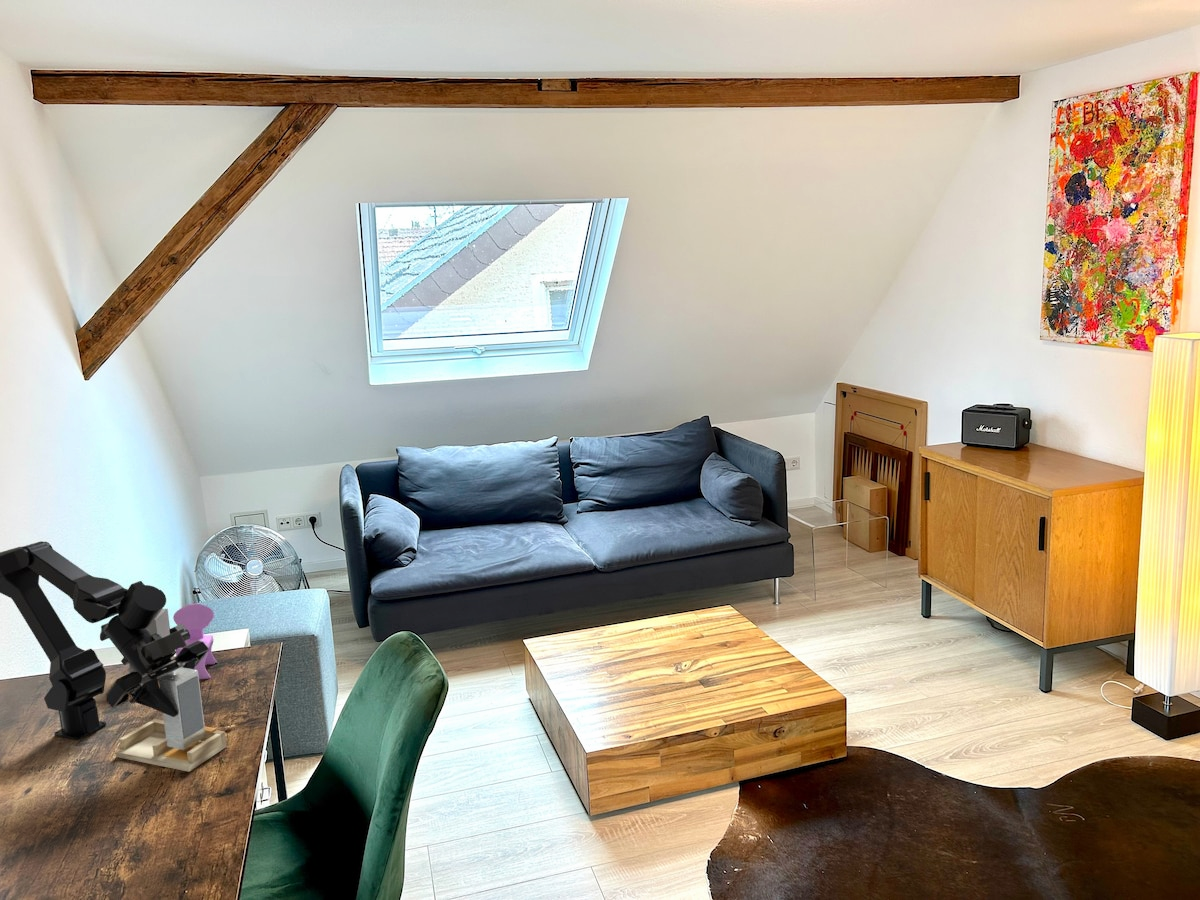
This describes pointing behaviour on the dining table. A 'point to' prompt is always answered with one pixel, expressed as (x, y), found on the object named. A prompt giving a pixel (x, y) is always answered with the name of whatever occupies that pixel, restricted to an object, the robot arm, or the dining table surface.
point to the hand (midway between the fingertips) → (188, 708)
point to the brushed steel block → (183, 708)
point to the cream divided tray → (154, 750)
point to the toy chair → (197, 632)
